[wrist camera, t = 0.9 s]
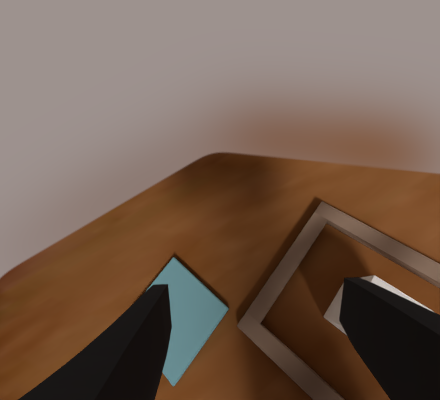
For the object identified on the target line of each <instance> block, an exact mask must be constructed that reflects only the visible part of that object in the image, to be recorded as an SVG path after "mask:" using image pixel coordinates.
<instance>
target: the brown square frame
mask: <svg viewBox="0 0 440 400" xmlns="http://www.w3.org/2000/svg"><path fill="white" fill-rule="evenodd" d="M326 223H327V224H329V225H330V226H332V227H334V228H336V229H337V230H339V231H341V232H343V233H344V234H346V235H348V236H349V237H351V238H353V239H355V240H356V241H358V242H360V243H362V244H363V245H365V246H367V247H369V248H370V249H372V250H374V251H376V252H377V253H379V254H381V255H383V256H384V257H386V258H388V259H390V260H391V261H393V262H395V263H397V264H398V265H400V266H402V267H404V268H405V269H407V270H409V271H411V272H412V273H414V274H416V275H418V276H419V277H421V278H423V279H425V280H426V281H428V282H430V283H431V284H433V285H435V286H437V287H438V288H440V264H439V263H437V262H435V261H433V260H431V259H429V258H428V257H426V256H424V255H422V254H420V253H418V252H416V251H414V250H413V249H411V248H409V247H407V246H405V245H403V244H401V243H399V242H398V241H396V240H394V239H392V238H390V237H388V236H386V235H384V234H383V233H381V232H379V231H377V230H375V229H373V228H371V227H369V226H367V225H366V224H364V223H362V222H360V221H358V220H356V219H354V218H352V217H351V216H349V215H347V214H345V213H343V212H341V211H339V210H337V209H336V208H334V207H332V206H330V205H328V204H326V203H324V202H321V203H320V205H319V206H318V208H317V209H316V211H315V212H314V214H313V215H312V216H311V218H310V219H309V221H308V222H307V224H306V225H305V227H304V228H303V230H302V231H301V233H300V234H299V235H298V237H297V238H296V240H295V241H294V243H293V244H292V246H291V247H290V249H289V250H288V252H287V253H286V255H285V256H284V257H283V259H282V260H281V262H280V263H279V265H278V266H277V268H276V269H275V271H274V272H273V274H272V275H271V276H270V278H269V279H268V281H267V282H266V284H265V285H264V287H263V288H262V290H261V291H260V293H259V294H258V296H257V297H256V298H255V300H254V301H253V303H252V304H251V306H250V307H249V309H248V310H247V312H246V313H245V315H244V316H243V317H242V319H241V320H240V322H239V323H238V325H237V327H238V328H239V329H240V330H241V331H242V332H243V333H245V334H246V335H247V336H248V337H249V338H250V339H251V340H252V341H253V342H254V343H255V344H256V345H257V346H258V347H259V348H260V349H261V350H262V351H263V352H264V353H265V354H266V355H267V356H268V357H269V358H270V359H271V360H272V361H273V362H275V363H276V364H277V365H278V366H279V367H280V368H281V369H282V370H283V371H284V372H285V373H286V374H287V375H288V376H289V377H290V378H291V379H292V380H293V381H294V382H295V383H296V384H297V385H298V386H299V387H300V388H301V389H302V390H304V391H305V392H306V393H307V394H308V395H309V396H310V397H311V398H312V399H313V400H346V399H344V398H343V397H342V396H341V395H340V394H339V393H338V392H337V391H336V390H335V389H333V388H332V387H331V386H330V385H329V384H328V383H327V382H326V381H325V380H323V379H322V378H321V377H320V376H319V375H318V374H317V373H316V372H315V371H313V370H312V369H311V368H310V367H309V366H308V365H307V364H306V363H305V362H303V361H302V360H301V359H300V358H299V357H298V356H297V355H296V354H295V353H294V352H292V351H291V350H290V349H289V348H288V347H287V346H286V345H285V344H284V343H282V342H281V341H280V340H279V339H278V338H277V337H276V336H275V335H274V334H272V333H271V332H270V331H269V330H268V329H267V328H266V327H265V326H264V325H263V324H261V322H262V320H263V319H264V317H265V315H266V314H267V312H268V311H269V309H270V308H271V306H272V305H273V303H274V302H275V300H276V299H277V297H278V296H279V294H280V293H281V291H282V290H283V288H284V287H285V285H286V284H287V282H288V281H289V279H290V278H291V276H292V275H293V273H294V271H295V270H296V268H297V267H298V265H299V264H300V262H301V261H302V259H303V258H304V256H305V255H306V253H307V252H308V250H309V249H310V247H311V246H312V244H313V243H314V241H315V240H316V238H317V237H318V235H319V234H320V232H321V231H322V229H323V227H324V226H325V224H326Z"/></svg>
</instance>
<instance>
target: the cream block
mask: <svg viewBox="0 0 440 400" xmlns="http://www.w3.org/2000/svg"><path fill="white" fill-rule="evenodd" d="M361 278H362V279H365V280H367V281H369V282H372V283H374V284H376V285H378V286H380V287H382V288H385V289H387V290H389V291H391V292H393V293H395V294H397V295H399V296H401V297H403V298H405V299H407V300H409V301H412V302H414V303H416V304H418V305H420V306H422V307H424V308H426V309H428V308H427V307H425V306H423V305H422V304H420V303H418V302H417V301H415V300H414V299H412V298H410V297H409V296H407V295H406V294H404V293H402V292H401V291H399V290H397V289H396V288H394V287H393V286H391V285H389V284H388V283H386V282H385V281H383V280H381V279H380V278H378V277H376V276H375V275H374V276H367V277H361ZM343 284H344V283H343ZM343 284H342V286H341V288H340V289H339V291H338V293H337V294H336V296H335V298H334V299H333V301H332V303H331V304H330V306H329V308H328V309H327V311H326V313H325V314H324V316H323V317H324V318H325V319H326V320H328V321H329V322H330V323H331V324H333V325H334V326H335V327H337V328H338V329H339V330H340V331H342V332H343V333H344V334H346V332H345V331H344V329H343V327H342V325H341V323H340V321H339V316H340V308H341V300H342V292H343ZM428 310H430V309H428ZM430 311H431V310H430ZM432 312H433V311H432ZM434 313H435V312H434ZM346 335H347V334H346Z"/></svg>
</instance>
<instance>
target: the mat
mask: <svg viewBox="0 0 440 400" xmlns="http://www.w3.org/2000/svg"><path fill="white" fill-rule="evenodd" d="M155 284H168V288H169V299H170V311H171V322H172V329H171V335H170V341H169V347H168V352H167V357H166V360H165V364H164V368H163V371H162V372H163V374H164V375H165V376H166V378H167V379H168V380H169V382H170V383H171V384H172V386H174V385H175V384H176V383H177V382H178V380H179V379H180V378H181V376H182V375H183V373H184V372H185V371H186V369H187V368H188V366H189V365H190V363H191V362H192V361H193V359H194V358H195V356H196V355H197V353H198V352H199V351H200V349H201V348H202V346H203V345H204V344H205V342H206V341H207V339H208V338H209V336H210V335H211V334H212V332H213V331H214V329H215V328H216V327H217V325H218V324H219V322H220V321H221V319H222V318H223V317H224V315H225V314H226V312H227V311H228V310H229V308H228V307H227V306H226V305H225V304H224V303H223V302H222V301H221V300H220V299H219V298H218V297H216V296H215V295H214V294H213V293H212V292H211V291H210V290H209V289H208V288H207V287H206V286H205V285H204V284H203V283H202V282H200V281H199V280H198V279H197V278H196V277H195V276H194V275H193V274H192V273H191V272H190V271H189V270H188V269H187V268H186V267H185V266H183V265H182V264H181V263H180V262H179V261H178V260H177V259H176V258H174V257H173V258H172V260H171V261H170V262H169V263H168V265H167V266H166V267H165V268H164V270H163V271H162V272H161V273H160V274H159V276H158V277H157V278H156V279H155V281H154V282H153V283H152V284H151V286H152V285H155ZM151 286H150V287H151ZM150 287H149V288H150ZM149 288H148V289H149ZM148 289H147V290H148ZM147 290H146V291H147Z"/></svg>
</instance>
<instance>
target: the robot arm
mask: <svg viewBox="0 0 440 400" xmlns="http://www.w3.org/2000/svg"><path fill="white" fill-rule="evenodd" d="M339 321H340V323H341V325H342V327H343V329H344V331H345V332H346V334H347V336H348V338H349V340H350V341H351V343H352V345H353V346H354V348H355V350H356V351H357V353H358V354H359V355H360V357H361V358H362V360H363V361H364V363H365V364H366V366H367V367H368V368H369V370H370V371H371V373H372V374H373V376H374V377H375V378H376V380H377V381H378V383H379V384H380V385H381V387H382V388H383V390H384V391H385V392H386V394H387V395H388V397H389V398H390V399H391V400H440V315H439V314H437V313H434V312H432V311H430V310H428V309H426V308H424V307H422V306H420V305H418V304H416V303H414V302H412V301H409V300H407V299H405V298H403V297H401V296H399V295H397V294H395V293H393V292H391V291H389V290H387V289H385V288H382V287H380V286H378V285H376V284H374V283H372V282H369V281H367V280H365V279H362V278H359V277H354V278H344V284H343V292H342V300H341V308H340V316H339ZM171 329H172V322H171V311H170V299H169V288H168V284H155V285H152V286H151V287H150V288H149V289H148V290H147V291H146V292H145V293H144V294H143V295H142V296H141V297H140V298H139V299H138V300H137V301H136V302H135V303H134V304H133V305H132V306H131V307H130V308H129V309H128V310H126V311H125V312H124V313H123V314H122V315H121V316H120V317H119V318H118V319H117V320H116V321H115V322H114V323H113V324H112V325H111V326H109V327H108V328H107V329H106V330H105V331H104V332H103V333H101V334H100V335H99V336H98V337H97V338H96V339H95V340H94V341H92V342H91V343H90V344H89V345H88V346H87V347H86V348H84V349H83V350H82V351H81V352H80V353H78V354H77V355H76V356H75V357H74V358H72V359H71V360H70V361H69V362H67V363H66V364H65V365H64V366H62V367H61V368H60V369H58V370H57V371H56V372H55V373H53V374H52V375H51V376H49V377H48V378H47V379H46V380H44V381H43V382H42V383H40V384H39V385H38V386H36V387H35V388H34V389H32V390H31V391H29V392H28V393H27V394H25V395H24V396H22V397H21V398H20V399H18V400H155V396H156V393H157V389H158V386H159V382H160V378H161V375H162V371H163V368H164V364H165V360H166V357H167V352H168V347H169V341H170V335H171Z"/></svg>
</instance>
